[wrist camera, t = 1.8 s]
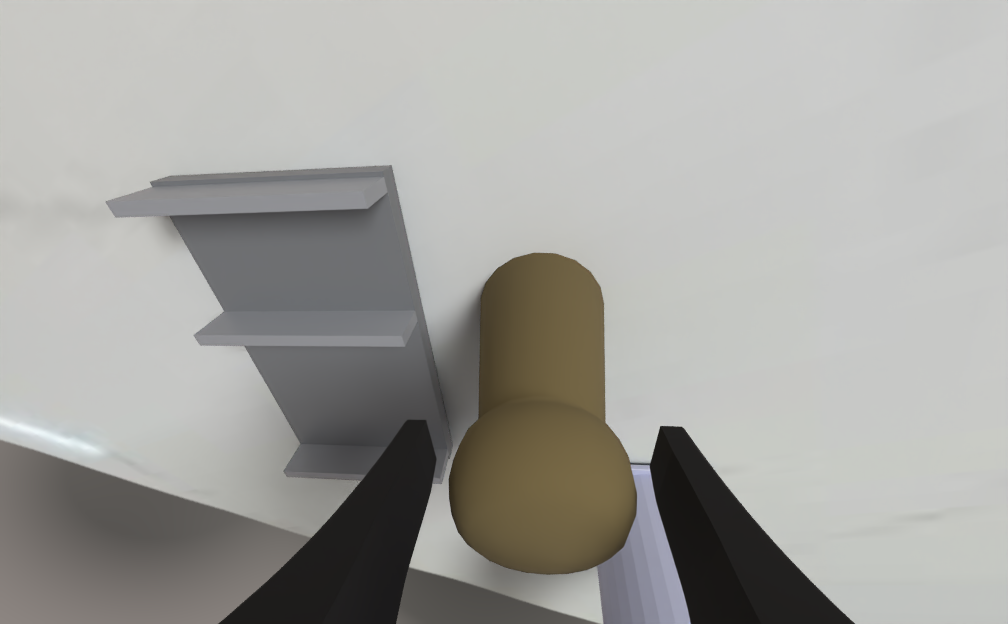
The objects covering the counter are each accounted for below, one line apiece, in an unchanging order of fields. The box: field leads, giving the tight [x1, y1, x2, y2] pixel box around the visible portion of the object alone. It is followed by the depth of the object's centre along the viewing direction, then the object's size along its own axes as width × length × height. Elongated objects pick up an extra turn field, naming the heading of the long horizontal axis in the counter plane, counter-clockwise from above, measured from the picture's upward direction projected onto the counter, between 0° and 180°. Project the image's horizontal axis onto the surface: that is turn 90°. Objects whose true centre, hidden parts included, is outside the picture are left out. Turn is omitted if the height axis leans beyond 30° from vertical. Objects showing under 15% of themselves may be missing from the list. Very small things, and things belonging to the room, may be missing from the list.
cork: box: [449, 253, 637, 575], centre depth 14 cm, size 6×6×11 cm
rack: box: [106, 165, 453, 484], centre depth 19 cm, size 18×10×3 cm, turn 3°
